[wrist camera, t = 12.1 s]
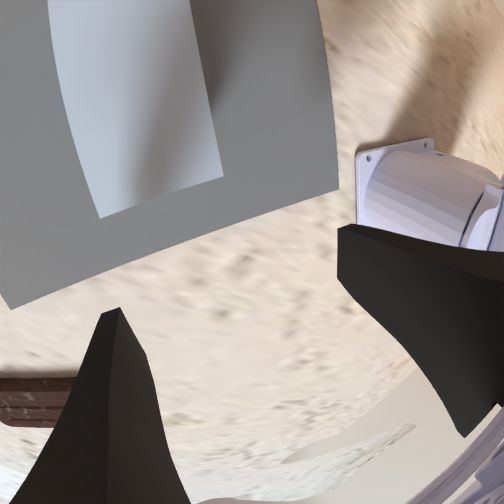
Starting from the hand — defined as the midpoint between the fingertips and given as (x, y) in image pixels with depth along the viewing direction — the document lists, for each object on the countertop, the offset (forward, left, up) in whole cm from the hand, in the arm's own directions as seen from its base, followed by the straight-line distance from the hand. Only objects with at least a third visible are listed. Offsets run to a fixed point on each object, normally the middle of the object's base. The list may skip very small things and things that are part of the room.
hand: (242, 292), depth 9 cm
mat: (+1, -7, -9) cm, 11 cm away
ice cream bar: (+14, +11, -9) cm, 21 cm away
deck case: (+1, -7, -8) cm, 11 cm away
